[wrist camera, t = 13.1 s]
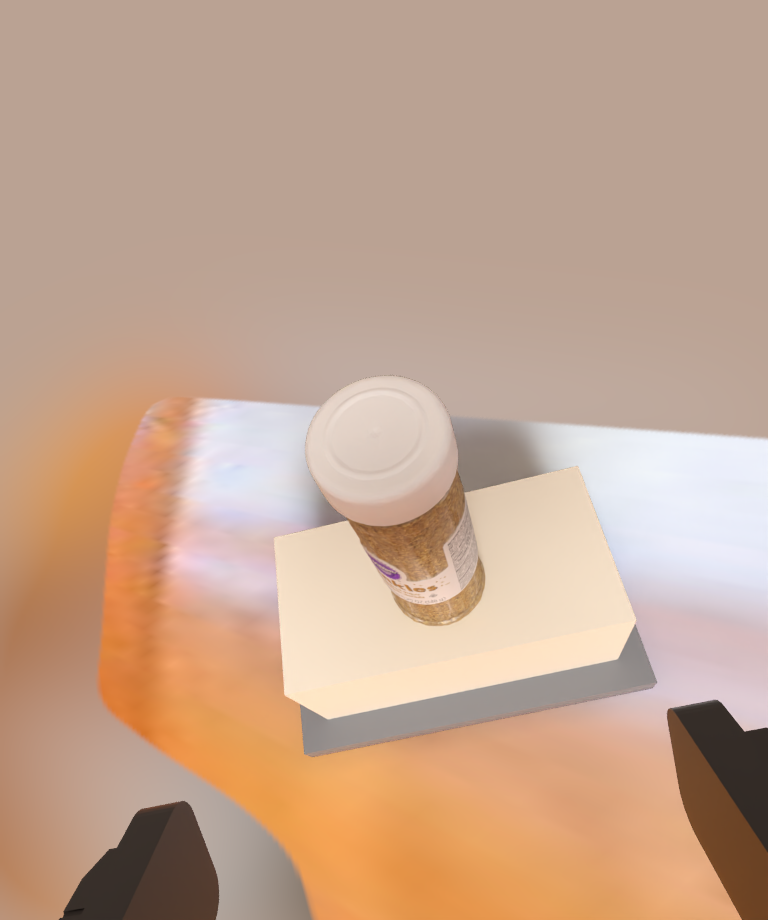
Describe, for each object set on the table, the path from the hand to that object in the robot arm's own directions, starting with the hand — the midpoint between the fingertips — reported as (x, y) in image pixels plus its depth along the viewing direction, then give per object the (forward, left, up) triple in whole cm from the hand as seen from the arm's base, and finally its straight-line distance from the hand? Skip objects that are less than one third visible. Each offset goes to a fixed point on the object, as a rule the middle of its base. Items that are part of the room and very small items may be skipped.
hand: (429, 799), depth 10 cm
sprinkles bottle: (0, -10, -17) cm, 20 cm away
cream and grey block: (0, -10, -26) cm, 28 cm away
